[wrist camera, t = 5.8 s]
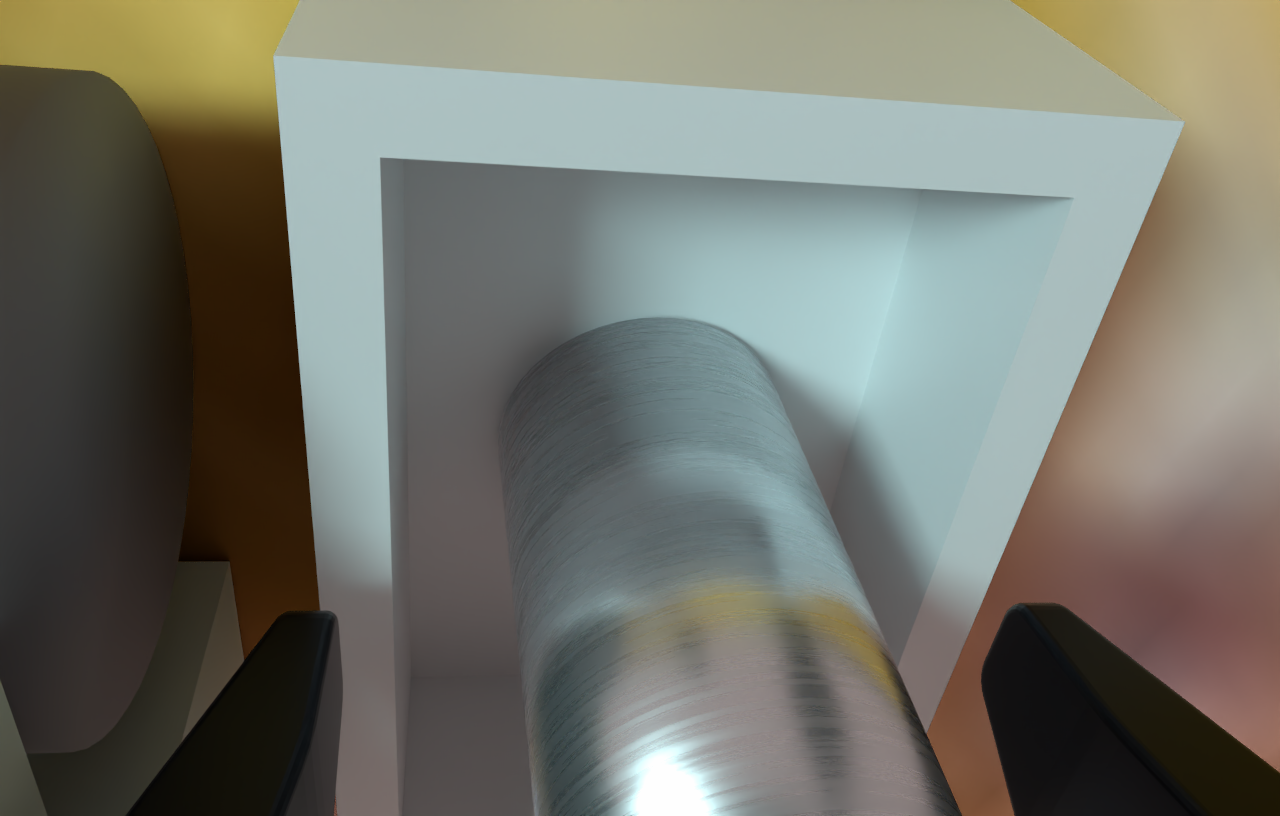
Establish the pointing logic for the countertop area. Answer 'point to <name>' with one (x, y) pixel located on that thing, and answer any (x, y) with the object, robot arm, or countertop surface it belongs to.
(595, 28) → the tray
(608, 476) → the pin
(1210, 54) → the countertop surface
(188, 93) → the countertop surface
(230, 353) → the countertop surface
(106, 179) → the grey-green hollow stepped block
